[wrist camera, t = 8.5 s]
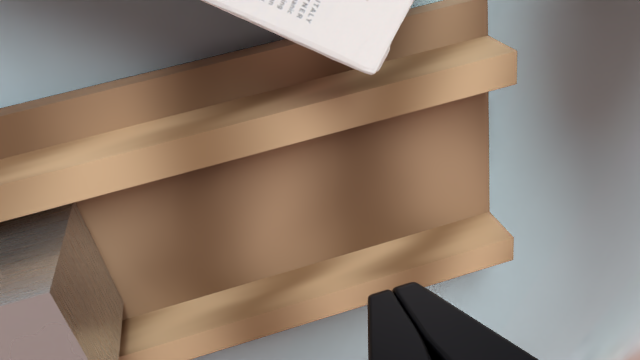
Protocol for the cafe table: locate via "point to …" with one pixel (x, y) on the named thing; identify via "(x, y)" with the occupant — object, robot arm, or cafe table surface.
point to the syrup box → (329, 25)
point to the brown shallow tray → (273, 179)
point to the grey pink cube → (56, 290)
